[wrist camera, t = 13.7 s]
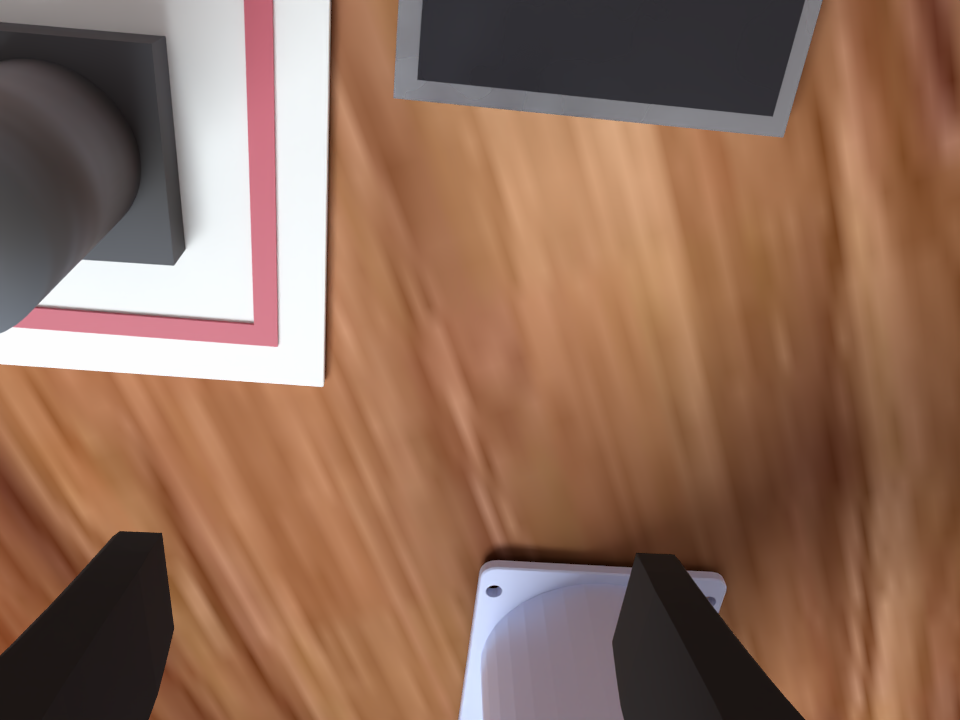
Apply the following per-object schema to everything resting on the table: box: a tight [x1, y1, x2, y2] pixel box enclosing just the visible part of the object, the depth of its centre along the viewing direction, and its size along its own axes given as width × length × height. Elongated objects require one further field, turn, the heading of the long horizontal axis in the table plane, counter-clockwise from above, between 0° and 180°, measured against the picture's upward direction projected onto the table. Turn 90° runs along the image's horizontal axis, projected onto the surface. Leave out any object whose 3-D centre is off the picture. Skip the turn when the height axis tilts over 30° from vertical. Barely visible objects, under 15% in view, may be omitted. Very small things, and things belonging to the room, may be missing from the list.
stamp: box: [0, 22, 186, 333], centre depth 16 cm, size 5×5×6 cm
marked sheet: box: [0, 0, 331, 387], centre depth 19 cm, size 12×12×1 cm
